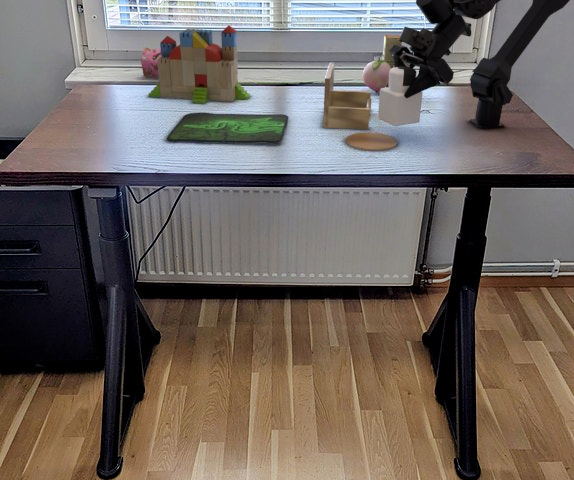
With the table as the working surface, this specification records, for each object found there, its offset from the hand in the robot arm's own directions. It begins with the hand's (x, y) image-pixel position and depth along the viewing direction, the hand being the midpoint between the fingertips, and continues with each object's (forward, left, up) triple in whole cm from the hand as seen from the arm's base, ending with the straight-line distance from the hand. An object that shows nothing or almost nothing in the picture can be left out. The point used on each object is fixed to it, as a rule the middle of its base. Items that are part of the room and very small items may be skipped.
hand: (395, 92), depth 145 cm
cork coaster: (-1, +6, -11) cm, 12 cm away
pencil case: (+72, +43, -11) cm, 84 cm away
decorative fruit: (+41, -12, -11) cm, 44 cm away
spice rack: (+18, +5, -11) cm, 22 cm away
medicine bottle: (0, -1, -7) cm, 7 cm away
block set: (+48, +39, -11) cm, 63 cm away
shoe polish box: (+59, -24, -11) cm, 65 cm away
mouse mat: (+16, +36, -11) cm, 41 cm away
